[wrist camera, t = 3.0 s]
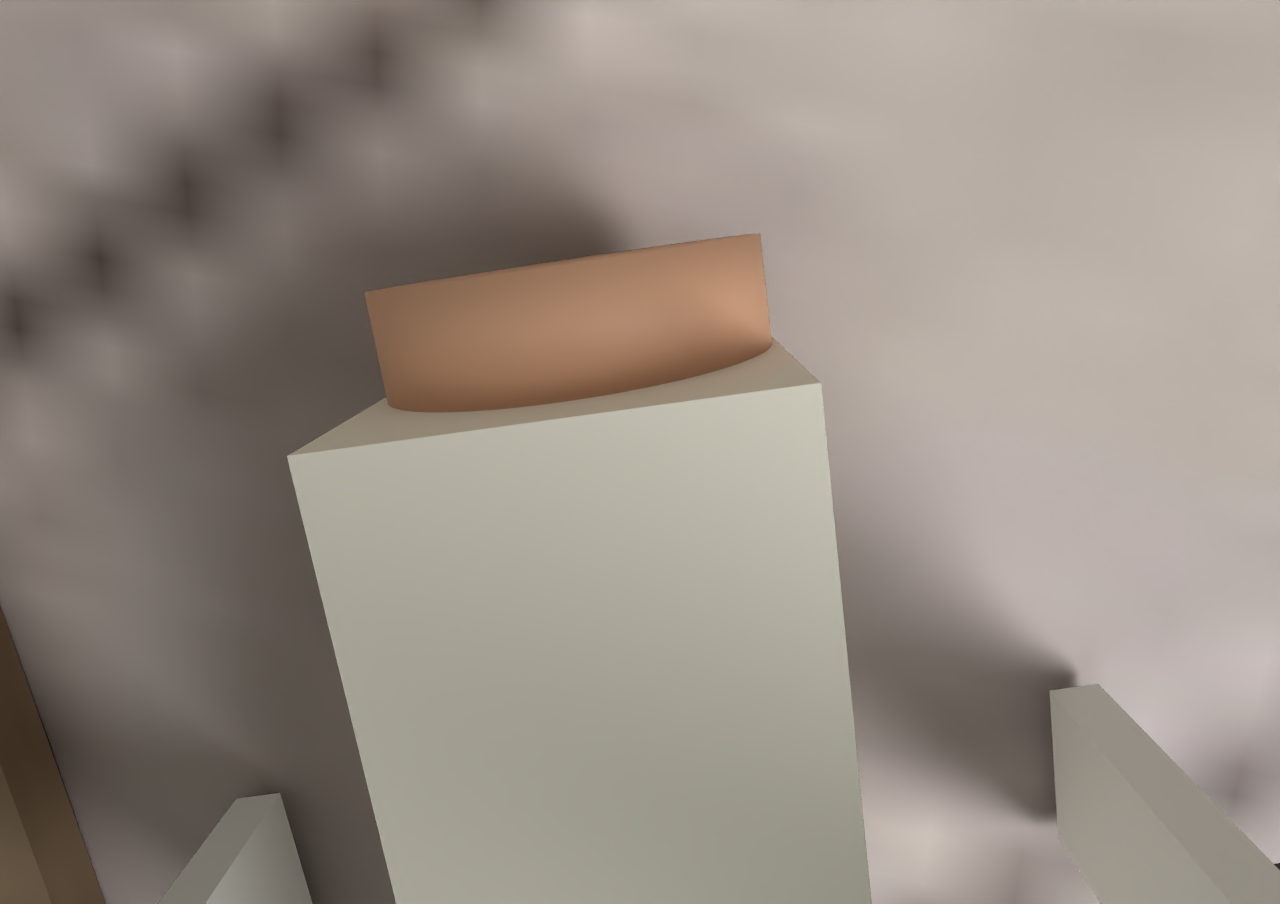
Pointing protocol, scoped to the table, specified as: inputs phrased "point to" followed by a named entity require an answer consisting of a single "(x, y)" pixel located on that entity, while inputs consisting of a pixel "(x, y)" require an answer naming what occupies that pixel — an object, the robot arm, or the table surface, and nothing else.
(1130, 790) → the robot arm
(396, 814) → the block
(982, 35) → the table surface
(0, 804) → the cradle
